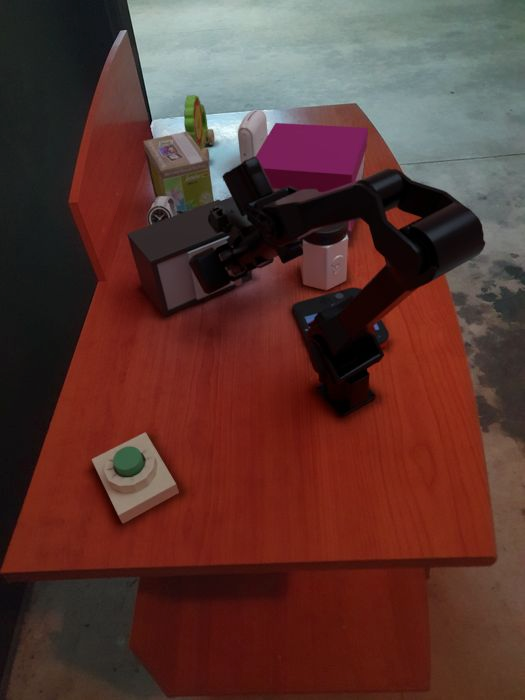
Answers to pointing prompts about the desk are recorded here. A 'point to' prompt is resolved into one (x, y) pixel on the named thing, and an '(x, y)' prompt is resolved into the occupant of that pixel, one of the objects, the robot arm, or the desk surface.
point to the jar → (325, 257)
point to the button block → (136, 480)
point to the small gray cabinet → (173, 257)
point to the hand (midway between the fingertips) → (231, 265)
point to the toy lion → (197, 123)
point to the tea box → (179, 171)
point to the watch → (161, 209)
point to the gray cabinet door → (197, 287)
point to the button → (128, 461)
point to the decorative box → (314, 157)
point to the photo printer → (252, 134)
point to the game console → (313, 306)
